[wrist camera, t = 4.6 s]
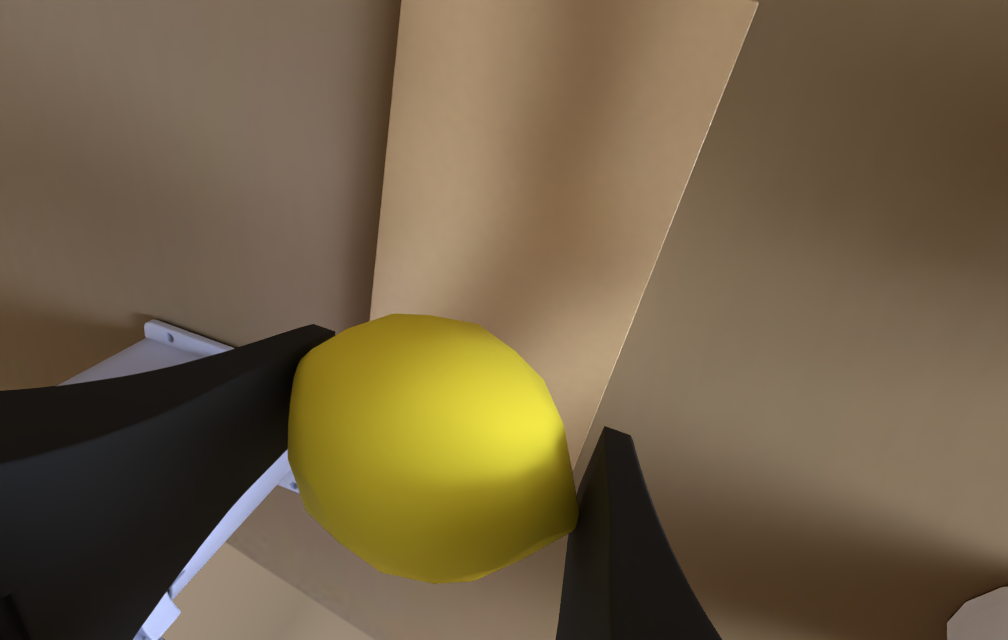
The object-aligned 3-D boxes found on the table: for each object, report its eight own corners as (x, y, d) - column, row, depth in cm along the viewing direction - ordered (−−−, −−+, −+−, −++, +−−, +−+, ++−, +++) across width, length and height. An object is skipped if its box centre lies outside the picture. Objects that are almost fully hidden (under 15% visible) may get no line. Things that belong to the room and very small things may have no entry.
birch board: (365, 424, 25) (357, 435, 24) (419, -73, 15) (408, -80, 15) (560, 497, 24) (557, 510, 23) (755, 4, 14) (760, 1, 13)
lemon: (333, 377, 15) (184, 521, 10) (397, 223, 12) (236, 322, 8) (537, 502, 15) (483, 702, 10) (647, 377, 12) (642, 570, 8)
